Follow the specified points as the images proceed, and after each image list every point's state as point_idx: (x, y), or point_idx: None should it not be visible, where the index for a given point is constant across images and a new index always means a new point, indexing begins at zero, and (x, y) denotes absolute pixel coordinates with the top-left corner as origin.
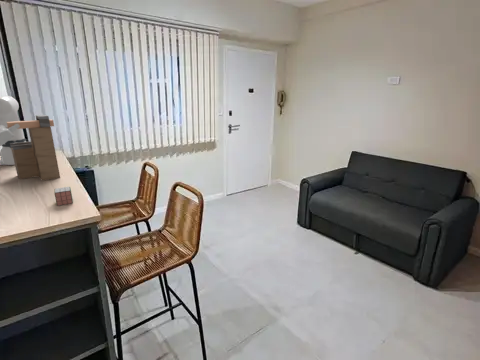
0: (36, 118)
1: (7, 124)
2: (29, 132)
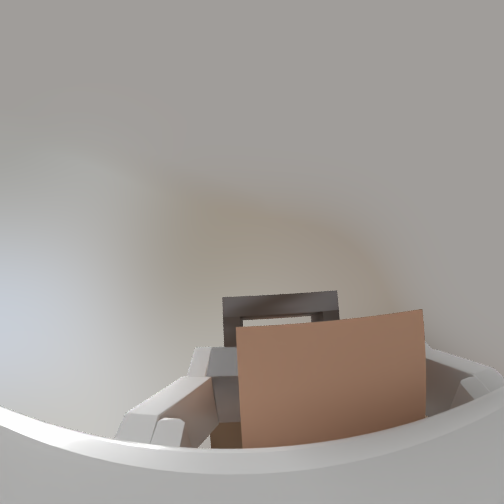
0: (236, 320)
1: (322, 370)
2: (234, 448)
